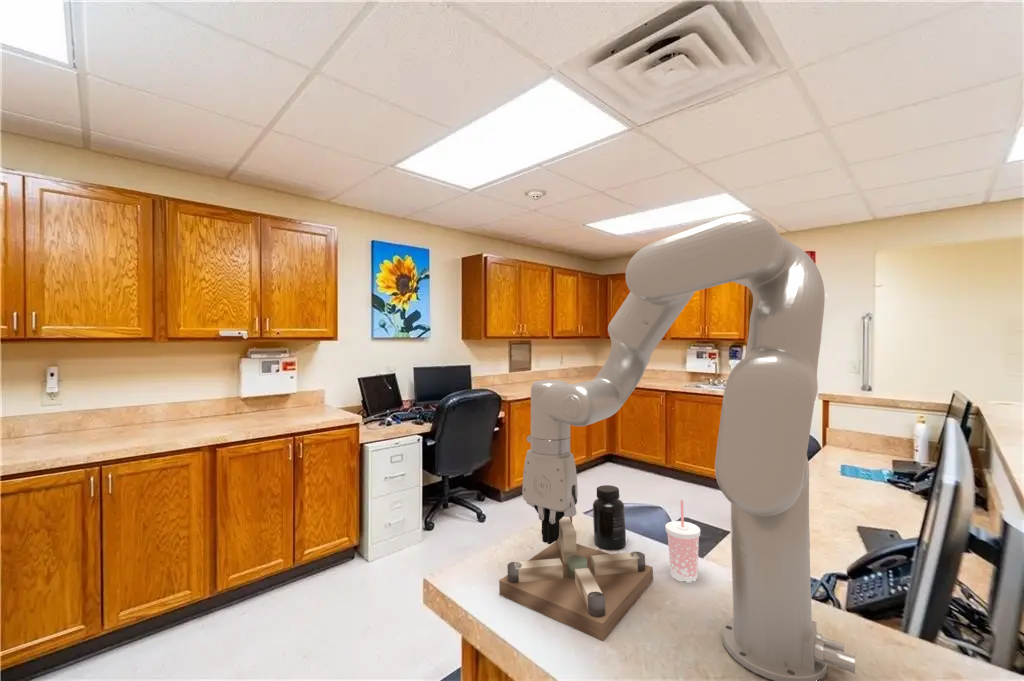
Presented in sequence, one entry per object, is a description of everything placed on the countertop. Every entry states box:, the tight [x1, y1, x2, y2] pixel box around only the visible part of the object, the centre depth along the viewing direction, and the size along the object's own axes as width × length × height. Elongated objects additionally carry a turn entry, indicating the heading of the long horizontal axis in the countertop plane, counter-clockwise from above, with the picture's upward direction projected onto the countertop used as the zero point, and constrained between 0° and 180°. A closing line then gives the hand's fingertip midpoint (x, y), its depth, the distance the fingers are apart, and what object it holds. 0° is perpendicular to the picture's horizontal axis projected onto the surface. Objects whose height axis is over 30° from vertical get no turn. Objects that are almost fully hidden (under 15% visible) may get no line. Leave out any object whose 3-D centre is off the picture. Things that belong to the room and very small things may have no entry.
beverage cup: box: [664, 499, 702, 583], centre depth 81 cm, size 6×6×14 cm
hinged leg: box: [556, 517, 577, 565], centre depth 86 cm, size 10×3×6 cm, turn 3°
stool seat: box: [498, 540, 654, 641], centre depth 78 cm, size 20×20×5 cm
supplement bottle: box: [592, 484, 627, 551], centre depth 95 cm, size 7×7×12 cm
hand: (550, 540), depth 83 cm, fingers closed
